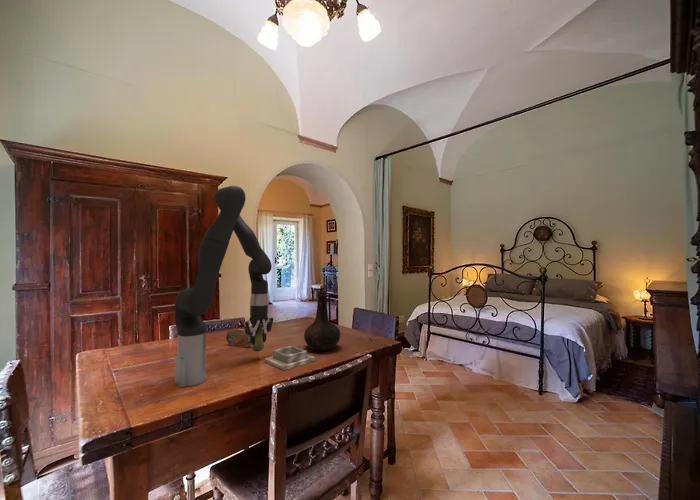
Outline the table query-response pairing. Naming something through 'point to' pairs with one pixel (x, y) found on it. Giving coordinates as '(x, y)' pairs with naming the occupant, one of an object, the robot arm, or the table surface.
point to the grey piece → (289, 358)
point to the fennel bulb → (258, 339)
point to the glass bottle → (322, 328)
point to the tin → (238, 338)
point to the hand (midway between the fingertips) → (258, 342)
